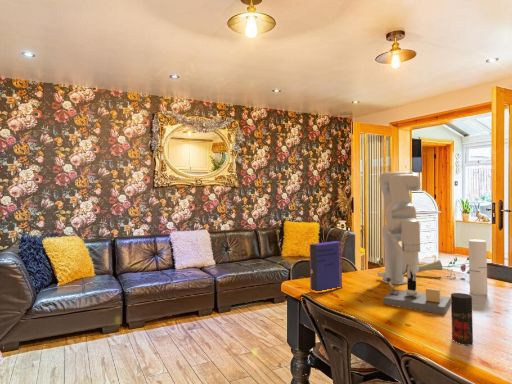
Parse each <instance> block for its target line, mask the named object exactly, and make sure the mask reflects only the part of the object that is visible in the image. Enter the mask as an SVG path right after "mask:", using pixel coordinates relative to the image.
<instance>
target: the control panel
mask: <svg viewBox="0 0 512 384" xmlns="http://www.w3.org/2000/svg"><path fill="white" fill-rule="evenodd" d="M394 290H395V291H392V290H391V291H389V292H388V293H387V294H386V295H384V296H383V297H382V301H383V302H382V303H383V305H384V304H389V305H388V306H390V305H394V306H393V307H395V306H400V307H399V308H401V307H406V308H405V309H407V308H411V309H410V310H413V309H416V310H415V311H419V310H422V311H421V312H425V311H427V312H426V313H431V312H433V314H437V315H444V316H445V315H446V314H447V311H448V309H449V308H451V296H444V295H440V302H439V303H438V302H431V301H426V293H423V292H417V295H415V296H412V295H407V294H406V290H404V289H403V290H402V289H395V288H394Z"/></svg>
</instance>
